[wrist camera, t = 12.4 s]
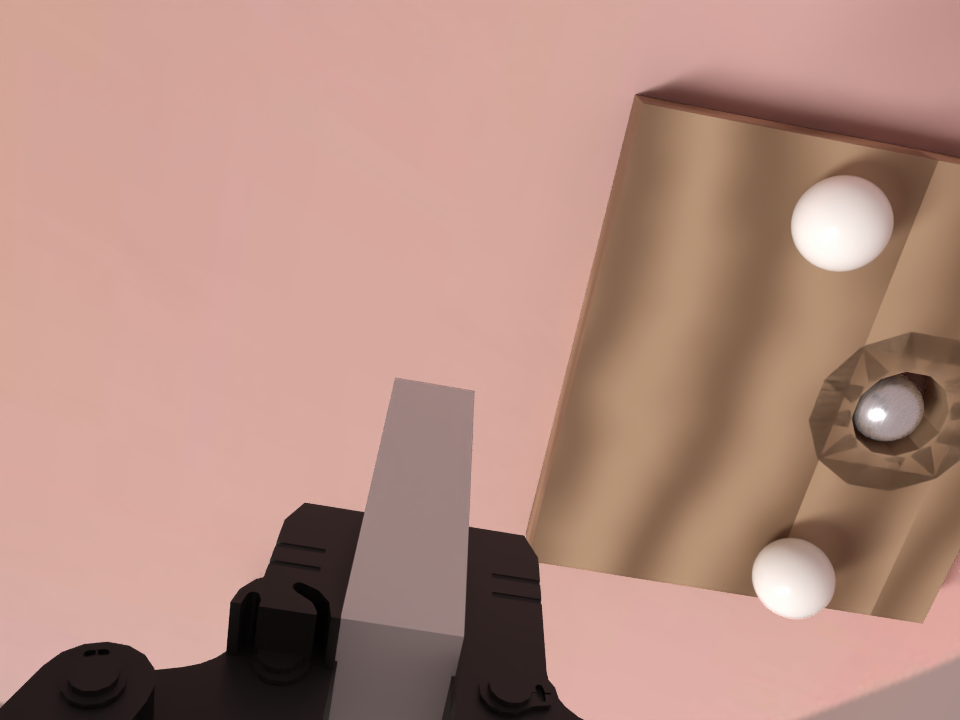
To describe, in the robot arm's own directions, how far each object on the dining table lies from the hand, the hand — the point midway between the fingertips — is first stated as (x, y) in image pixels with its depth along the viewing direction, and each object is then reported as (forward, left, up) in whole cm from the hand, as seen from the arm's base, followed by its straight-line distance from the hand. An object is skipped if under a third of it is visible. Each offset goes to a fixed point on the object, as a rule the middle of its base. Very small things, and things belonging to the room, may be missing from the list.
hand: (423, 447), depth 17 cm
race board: (+18, -8, -26) cm, 33 cm away
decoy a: (+16, +1, -22) cm, 27 cm away
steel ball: (+23, -8, -25) cm, 34 cm away
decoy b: (+20, -17, -22) cm, 34 cm away
